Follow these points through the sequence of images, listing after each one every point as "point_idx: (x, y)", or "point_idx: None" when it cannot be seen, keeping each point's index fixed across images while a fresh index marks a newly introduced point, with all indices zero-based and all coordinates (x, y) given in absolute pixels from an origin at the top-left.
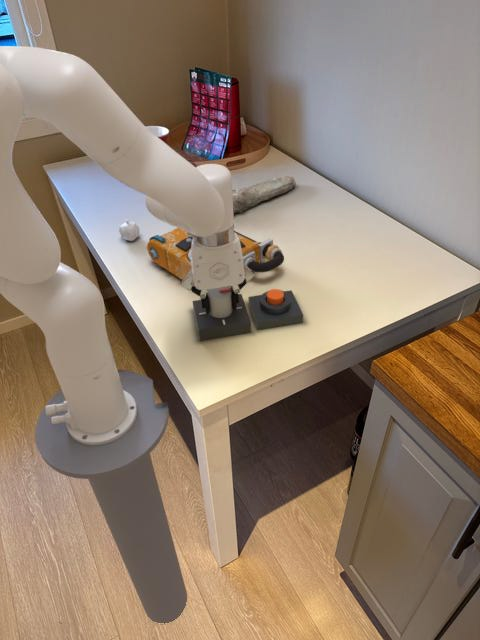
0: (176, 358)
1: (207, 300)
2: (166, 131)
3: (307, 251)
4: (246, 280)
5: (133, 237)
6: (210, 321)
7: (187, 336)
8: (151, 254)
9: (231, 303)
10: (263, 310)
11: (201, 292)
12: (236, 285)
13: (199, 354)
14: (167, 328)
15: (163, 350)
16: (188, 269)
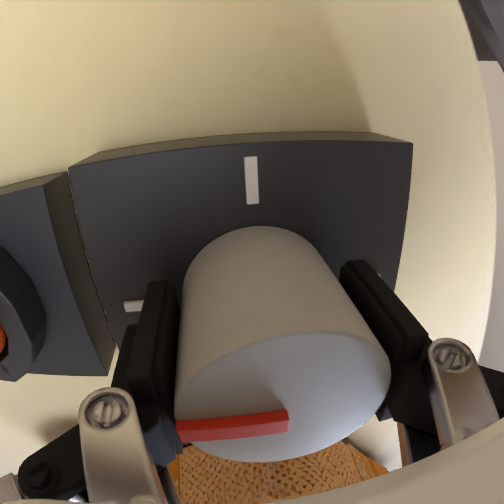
0: (460, 61)
1: (403, 328)
2: None
3: (18, 463)
4: (24, 486)
5: None
6: (336, 205)
7: (413, 178)
8: None
9: (181, 319)
10: (20, 273)
11: (481, 384)
12: (99, 477)
13: (382, 43)
14: (458, 242)
15: (489, 124)
16: (349, 481)
